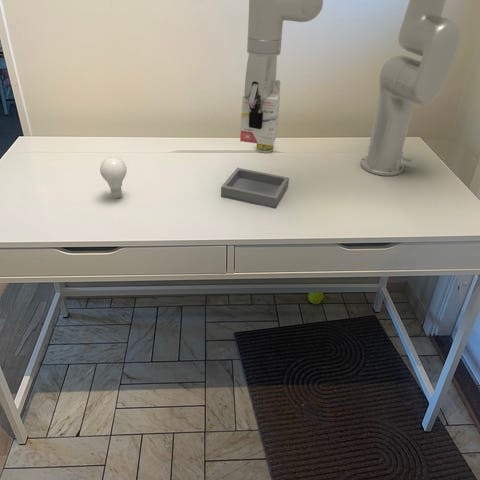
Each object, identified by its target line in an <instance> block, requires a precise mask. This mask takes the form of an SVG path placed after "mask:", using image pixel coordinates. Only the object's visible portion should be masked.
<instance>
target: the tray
mask: <svg viewBox="0 0 480 480" xmlns="http://www.w3.org/2000/svg"><path fill="white" fill-rule="evenodd" d="M289 182H290V177H287V176H282V175H276V174H271V173H266V172H261V171H257V170H250V169H245V168H242V167H237V168H235V169H234V171H233V172H232V173H231V174H230V175H229V177H228V178H227V179H226V180H225V182H224V183H223V184H222V185H221V186H220V197H221V198H224V199H229V200H234V201H239V202H243V203H249V204H252V205H258V206H262V207H267V208H269V209H270V208H271V209H277V207H278V205H279V204H280V202H281V201H282V199H283V197H284V195H285V194H286V192H287V190H288V189H289Z"/></svg>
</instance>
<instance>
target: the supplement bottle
mask: <svg viewBox="0 0 480 480" xmlns="http://www.w3.org/2000/svg"><path fill="white" fill-rule="evenodd" d="M274 145H275V144H274ZM274 145H265V144H258V143H256V151H257V152H259V153H264V154H268V153H271V152H273V151H274V147H275V146H274Z"/></svg>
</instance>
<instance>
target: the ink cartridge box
mask: <svg viewBox="0 0 480 480" xmlns="http://www.w3.org/2000/svg"><path fill="white" fill-rule="evenodd" d="M280 90H281V80H279V79H276V80H274V86H273V91H272V93H271V94H270V95H269V96H268V97H267V98H266V99H265V100H263V106H262V112H263V121H262V128H261V129H255V128H250V127H249V108H250V107H249V104H248V102H249V98H250V97H249V98H248V99H246V98H245V97H244V93H243V94H242V101H241V102H242V104H241V120H240V137H239V141H240V142H244V143H250V144H257V143H258V144H265V145H275V142H276V138H277V131H278V122H279V121H278V120H279V110H280V109H279V108H280V100H281V93H280ZM260 98H261V97H260V96H257V97H256V99H260ZM256 104H258V106H259V102H257V101H256Z"/></svg>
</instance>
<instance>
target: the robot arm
mask: <svg viewBox="0 0 480 480" xmlns="http://www.w3.org/2000/svg"><path fill="white" fill-rule="evenodd" d="M446 1H447V0H409V1H408V5H407V7H406V11H405V13H404V17H403V20H402V23H401V26H400V29H399V33H398V38H397V39H398V40H397V41H398V45H399V46H400V48H402V49H403V50H405V51H407V52H409V53H412V54H414V55H417V56H420V57H422V58H421V61H420V60H418V59H415V58H412V57H410V56H407V55H394V56H393V57H390V58H389V59H387V60H386V62H384V64H383V65H382V68H381V70H380V72H379V79H378V80H379V83H378V84H379V92H378V102H377V107H376V111H375V116H374V120H373V126H372V131H371V135H370V140H369V145H368V151H367V155H365V156H363V157H361V159H360V163H359V164H360V166H361V167H362V169H364V170H365V171H367V172H369V173H371V174H373V175H379V176H383V177H385V176H387V177H390V176H397V175H400V174H401V173H403V171H404V168H405V167H406V168H410V169H413V170H414V169H416V165H417V161H412V160H413V158H409V157H405V156H403V155H404V151H403V150H404V146H405V142H406V138H407V135H408V129H409V125H410V123H411V118H412V114H413V103H414V104H417V105H422V106H423V105H424V106H426V105H428V104H431V103H432V102H434V101H435V100H436V99H437V98H438V97H439V95H440V94H441V91H442V89H443V88H444V86H445V83H446V81H447V78H448V75H449V73H450V70H451V68H452V66H453V62H454V60H455V58H456V56H457V52H458V49H459V46H460V42H461V31H460V27H459V25H458V24H457V22H455V21H454V20H453V19H451V18H450V19H449V18H447V17H443V12H444V9H445V6H446ZM323 5H324V0H248V23H247V25H248V26H247V45H246V46H247V48H246V53H248V56H247V62H246V69H245V70H246V71H245V78H244V79H245V80H244V90H243V91H244V92H243V94H244V97H245V98H246V99H248V98H249V97H250V98H249V102H248V104H249V107H250V108H249V127H250V128H255V129H261V128H262V121H263V112H262V106H263V100H265V99H266V98H267V97H268V96H269V95H270V94H271V93H272V91H273V86H274V80H277V65H278V64H277V63H278V56H279V55H281V53H282V52H281V51H282V50H281V49H282V40H283V39H282V37H283V25H284V22H285V21H288V22H297V23H306V22H307V23H308V22H309V21H312V20H314V19H316V18H317V17H318V16H319V14H320V13H321V12H322V10H323ZM257 96H260V97H261V98H260V99H256V97H257ZM256 101H257V102H259V106H258V104H256Z"/></svg>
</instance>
